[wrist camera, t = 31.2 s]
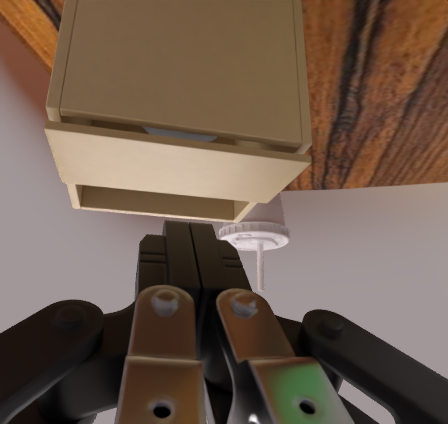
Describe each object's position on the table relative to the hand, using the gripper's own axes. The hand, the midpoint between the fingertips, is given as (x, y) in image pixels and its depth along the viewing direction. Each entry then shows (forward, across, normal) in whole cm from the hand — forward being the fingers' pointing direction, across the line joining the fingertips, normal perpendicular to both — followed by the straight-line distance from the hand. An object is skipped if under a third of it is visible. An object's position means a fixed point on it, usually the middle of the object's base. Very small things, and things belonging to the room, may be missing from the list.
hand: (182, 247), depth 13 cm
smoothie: (+26, -9, +3) cm, 28 cm away
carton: (+14, 0, -9) cm, 17 cm away
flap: (+3, 0, -2) cm, 4 cm away
